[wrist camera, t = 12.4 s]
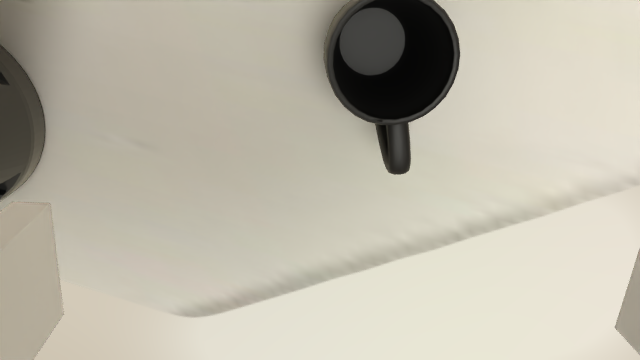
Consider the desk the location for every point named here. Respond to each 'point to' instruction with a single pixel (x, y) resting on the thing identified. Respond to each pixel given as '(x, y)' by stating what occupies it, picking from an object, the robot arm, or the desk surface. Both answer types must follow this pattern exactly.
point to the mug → (391, 66)
